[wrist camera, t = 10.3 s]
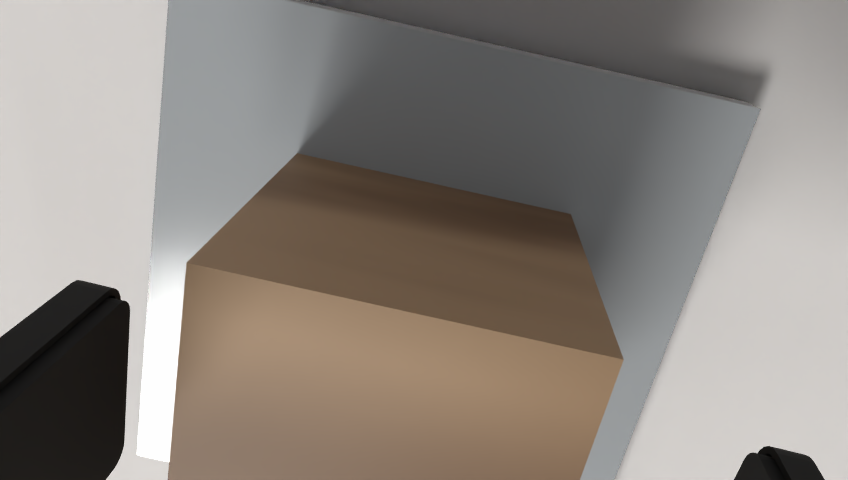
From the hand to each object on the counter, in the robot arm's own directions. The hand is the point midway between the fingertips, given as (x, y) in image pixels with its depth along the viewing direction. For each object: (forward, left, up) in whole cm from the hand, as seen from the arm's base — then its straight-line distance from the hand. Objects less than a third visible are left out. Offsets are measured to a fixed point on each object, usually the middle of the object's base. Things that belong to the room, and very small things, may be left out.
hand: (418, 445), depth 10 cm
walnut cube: (+1, -1, -6) cm, 6 cm away
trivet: (+1, -1, -7) cm, 7 cm away
